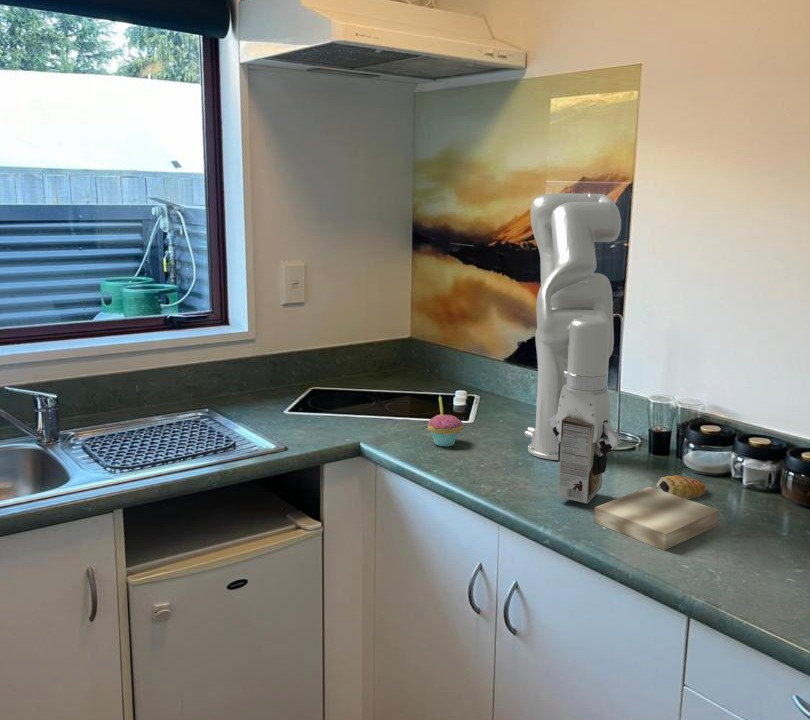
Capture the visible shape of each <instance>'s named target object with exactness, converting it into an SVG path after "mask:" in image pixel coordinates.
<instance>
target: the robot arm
mask: <svg viewBox="0 0 810 720" xmlns="http://www.w3.org/2000/svg"><path fill="white" fill-rule="evenodd" d="M530 224H531V229H532V234H533V237H534V240H535V243H536V246H537V248H538V252H539V257H540V260H539V261H540V287H539V289H538V290H539V291H538V293H537V297H536V306H535V308H536V309H535V310H536V326H537V328H536V330H535V337H534V338H535V348H536V360H537V383H536V384H537V385H536V386H537V390H536V391H537V393H536V408H535V409H536V412H535V413H536V414H535V427H534V426H529V427H528V428H527V430H525V432H524V436H525V437H526V438H531V442H530V443H529V444H528V446H527V451H528V452H529V454H531V455H532V456H535V457H537V458H540V459H545V460H551V461H558V462H559V463H560V448H561V429H562V420H563V419H564V418H565V417H566V416H567V417H571V418H575V419H578V420H581V421H583V422H585V423H588V424H592V425H594V427H593V440H592V442H593V444H594V443H595V448H594V449H595V452H596V454H597V455H594V460H593V474H594V475H598V474H601V473H605V472H606V469H607V460H608V458H607V457H608V456H607V455H608V454H610V453H611V452H612V451H614V449H616V447H617V446H618V444H619V443H620V442H621V441H622V440H621V436H619V434H618V433H617V432H616V431H615V430H614V429H613V427H612V426H611V403H610V402H611V401H610V395H609V390H607V383H608V382H607V380H608V365H609V359H610V357H611V356H612V354H613V352H614V344H615V342H614V339H615V334H614V307H613V306H614V301H613V289H612V285H611V282H610V280H609V278H608V277H607V276H606V275H605V274H603V273H600V272H599V273H598V272H595V271H596V269H597V256H596V247H595V243H612V242H614V241H617V239H618V237H619V236H620V233H621V229H622V218H621V214H620V210H619V208H618V206H617V205H616V203H615V202H614V201H613V200H612V199H611V198H610V197H609V196H607V195H606V194H603V193H573V192H571V193H569V192H568V193H565V192H562V193H560V192H559V193H557V192H556V193H555V192H554V193H546V194H541V195H539V196H537V197H535V199H533V200H532V203H531V206H530ZM608 439H609V441H608V442H607V440H608ZM599 442H600V444H601V446H602V448H601V446H600V444H599Z"/></svg>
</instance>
